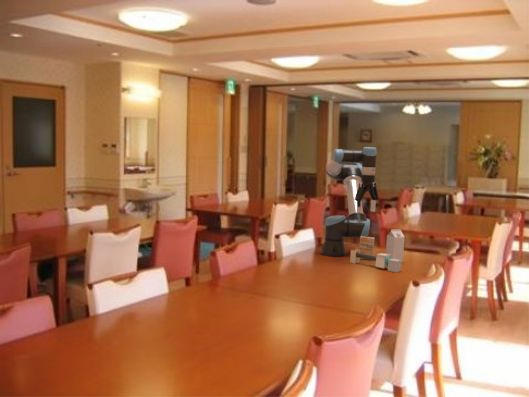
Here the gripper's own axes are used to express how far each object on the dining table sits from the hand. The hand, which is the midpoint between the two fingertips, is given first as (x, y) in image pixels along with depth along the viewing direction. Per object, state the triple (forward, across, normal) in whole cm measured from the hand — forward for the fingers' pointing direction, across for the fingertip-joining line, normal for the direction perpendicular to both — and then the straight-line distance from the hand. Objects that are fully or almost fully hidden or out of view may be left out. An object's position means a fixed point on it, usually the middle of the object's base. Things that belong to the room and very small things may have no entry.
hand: (365, 212), depth 321 cm
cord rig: (+29, -5, -11) cm, 31 cm away
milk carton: (+29, +17, -10) cm, 35 cm away
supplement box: (+29, +9, +4) cm, 31 cm away
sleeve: (+28, -5, -16) cm, 33 cm away
